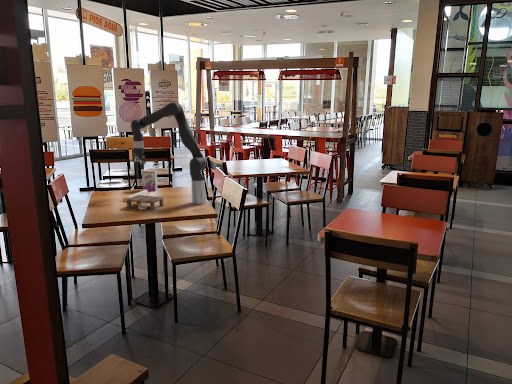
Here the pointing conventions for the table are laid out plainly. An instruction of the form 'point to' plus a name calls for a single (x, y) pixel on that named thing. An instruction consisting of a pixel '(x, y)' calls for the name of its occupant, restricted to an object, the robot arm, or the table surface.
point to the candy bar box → (149, 180)
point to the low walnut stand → (145, 201)
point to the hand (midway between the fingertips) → (139, 168)
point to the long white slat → (136, 194)
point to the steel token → (142, 207)
